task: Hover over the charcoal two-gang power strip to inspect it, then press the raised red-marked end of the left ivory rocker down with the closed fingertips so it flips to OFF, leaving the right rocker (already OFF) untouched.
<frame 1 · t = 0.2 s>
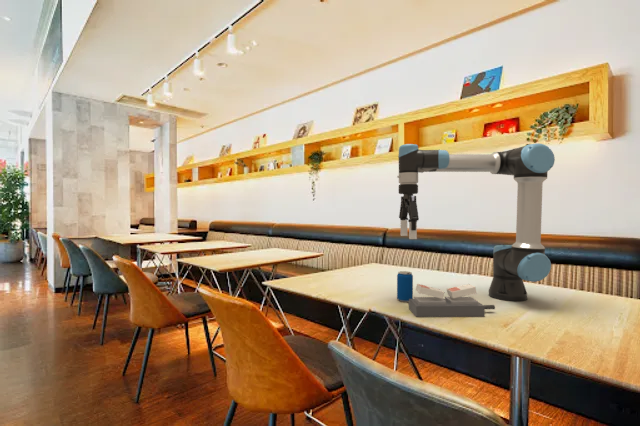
hand: (408, 237, 141), 28 cm above the table, fingers open, 13 cm apart
beverage can: (404, 301, 150), on the table
power strip: (445, 312, 134), on the table
rocker 1: (429, 291, 133), point 8 cm above the table, hinge at -13.0°
rocker 2: (461, 290, 133), point 8 cm above the table, hinge at 12.0°
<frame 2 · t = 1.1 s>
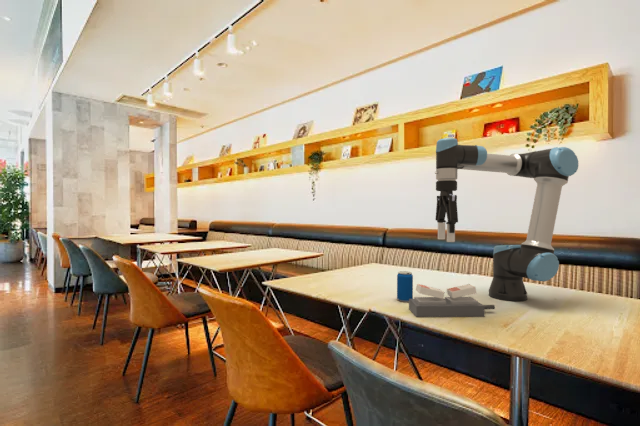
hand: (445, 240, 133), 27 cm above the table, fingers open, 9 cm apart
nothing on the table moved.
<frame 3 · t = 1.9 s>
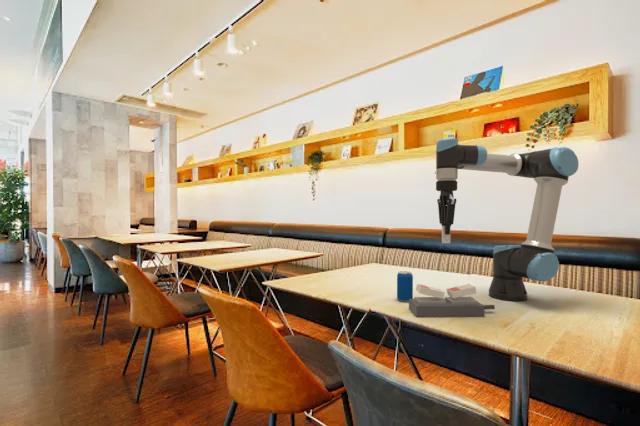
hand: (446, 243, 133), 26 cm above the table, fingers closed
nothing on the table moved.
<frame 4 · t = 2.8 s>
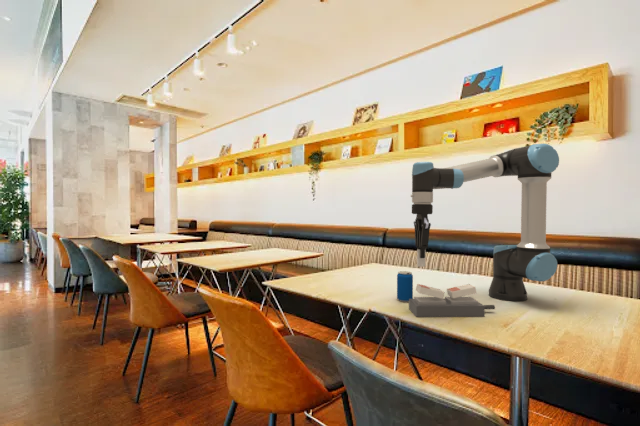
hand: (421, 266, 133), 18 cm above the table, fingers closed
nothing on the table moved.
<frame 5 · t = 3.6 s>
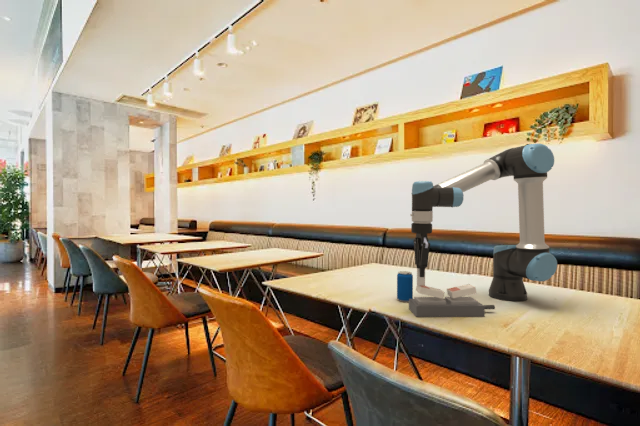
hand: (420, 285, 133), 11 cm above the table, fingers closed
rocker 1: (429, 291, 133), point 8 cm above the table, hinge at -12.8°, touching gripper
everything else where it was.
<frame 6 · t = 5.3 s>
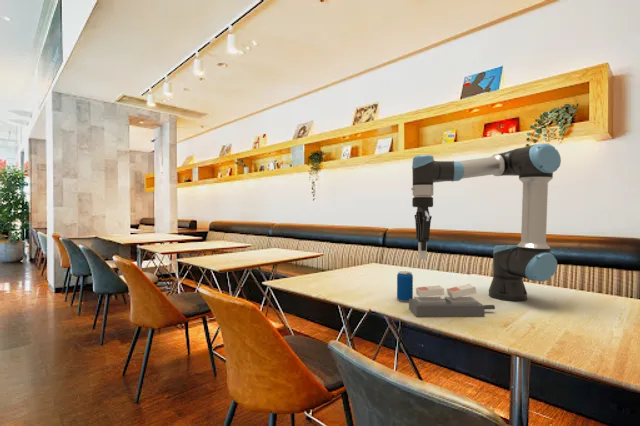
hand: (422, 259, 133), 20 cm above the table, fingers closed
rocker 1: (429, 291, 133), point 8 cm above the table, hinge at 5.4°
everything else where it was.
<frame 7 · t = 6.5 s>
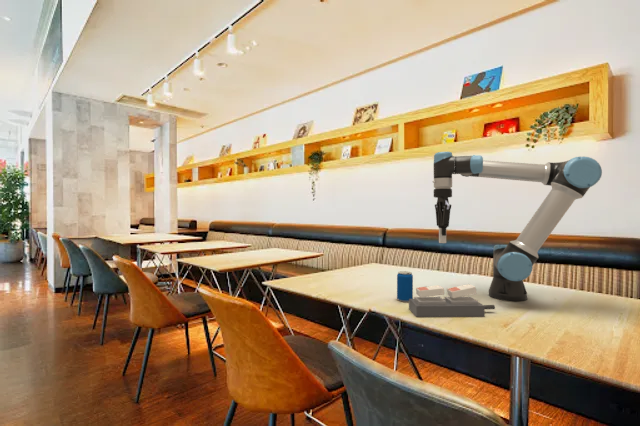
hand: (442, 242, 153), 24 cm above the table, fingers closed
rocker 1: (429, 291, 133), point 8 cm above the table, hinge at 6.3°
everything else where it was.
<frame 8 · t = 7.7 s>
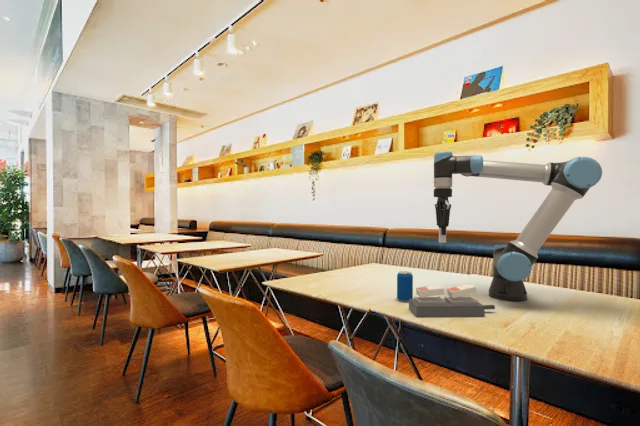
hand: (442, 242, 153), 24 cm above the table, fingers closed
nothing on the table moved.
at the end: rocker 1 at +6° (first picture: -13°); rocker 2 at +12° (first picture: +12°); rocker 1 touching nothing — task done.
